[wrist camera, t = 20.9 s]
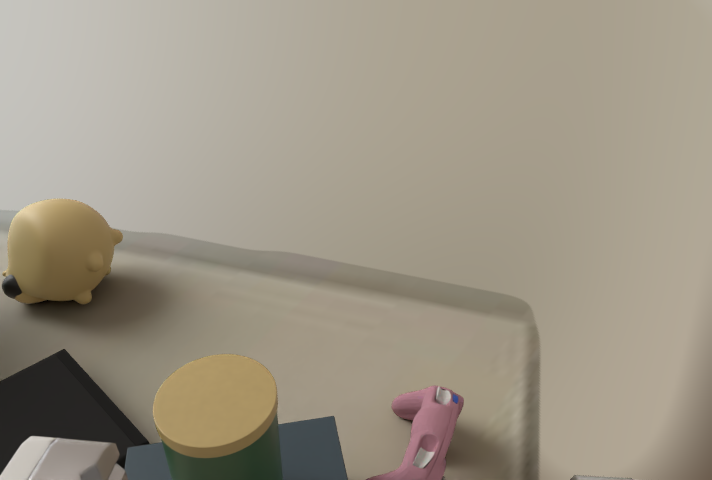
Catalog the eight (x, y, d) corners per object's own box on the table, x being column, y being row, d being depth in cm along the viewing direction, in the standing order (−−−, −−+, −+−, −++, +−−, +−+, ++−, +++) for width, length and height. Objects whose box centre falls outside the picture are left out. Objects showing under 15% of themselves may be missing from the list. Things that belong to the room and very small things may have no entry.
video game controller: (403, 535, 42) (455, 496, 38) (349, 499, 42) (396, 457, 38) (434, 429, 50) (481, 387, 46) (390, 400, 50) (432, 355, 46)
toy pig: (95, 290, 69) (12, 235, 65) (149, 226, 64) (62, 163, 60) (53, 346, 60) (-45, 286, 57) (111, 278, 55) (8, 208, 52)
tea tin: (281, 459, 38) (271, 347, 33) (292, 551, 33) (282, 436, 28) (184, 475, 37) (157, 362, 32) (180, 573, 32) (147, 457, 27)
